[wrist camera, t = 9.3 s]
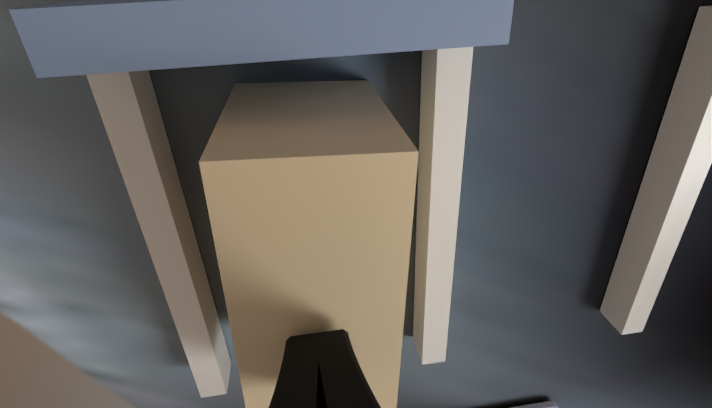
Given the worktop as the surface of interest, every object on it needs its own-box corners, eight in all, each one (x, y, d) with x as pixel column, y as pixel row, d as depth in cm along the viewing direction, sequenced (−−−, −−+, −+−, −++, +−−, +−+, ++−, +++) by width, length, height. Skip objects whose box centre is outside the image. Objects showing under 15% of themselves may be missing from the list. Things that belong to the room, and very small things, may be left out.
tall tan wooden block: (362, 316, 18) (392, 457, 13) (267, 325, 17) (258, 476, 12) (366, 79, 13) (418, 150, 8) (235, 82, 13) (198, 161, 7)
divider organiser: (619, 308, 20) (689, 379, 16) (207, 366, 18) (188, 461, 14) (743, -40, 13) (911, -42, 9) (86, -3, 11) (-7, 10, 7)
